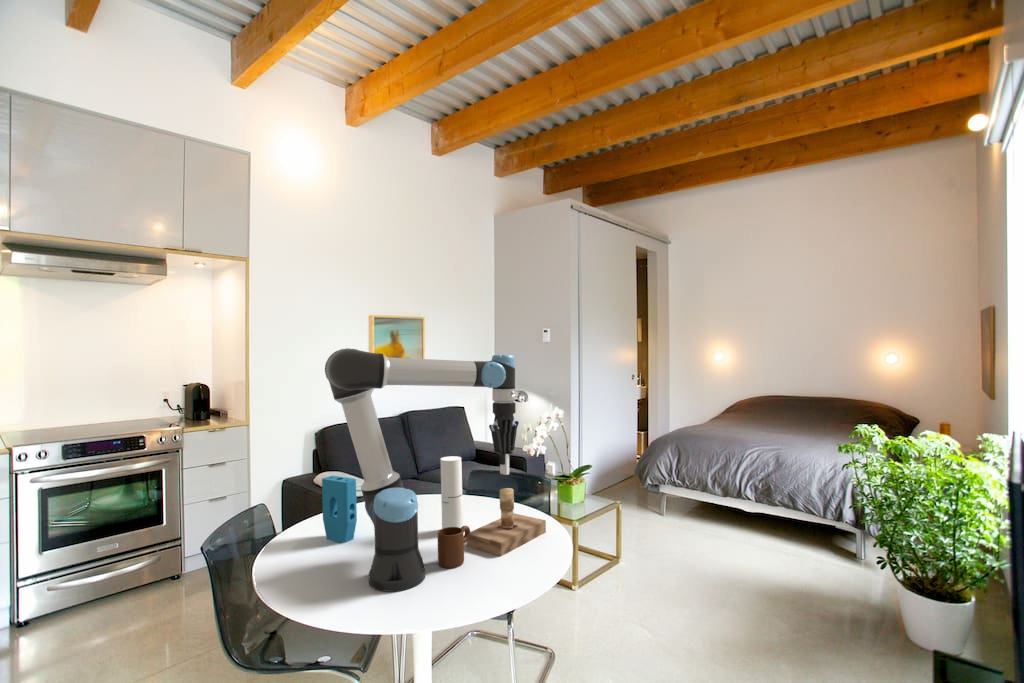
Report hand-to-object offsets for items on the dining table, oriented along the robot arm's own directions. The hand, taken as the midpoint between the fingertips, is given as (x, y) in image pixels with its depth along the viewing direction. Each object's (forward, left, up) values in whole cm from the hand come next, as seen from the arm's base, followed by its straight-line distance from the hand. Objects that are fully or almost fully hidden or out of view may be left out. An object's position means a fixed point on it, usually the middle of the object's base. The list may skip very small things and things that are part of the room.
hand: (504, 473), depth 169 cm
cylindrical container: (-5, +20, -22) cm, 30 cm away
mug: (-22, +2, -22) cm, 31 cm away
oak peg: (0, 0, -21) cm, 21 cm away
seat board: (0, 0, -21) cm, 21 cm away
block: (-31, +47, -22) cm, 60 cm away
